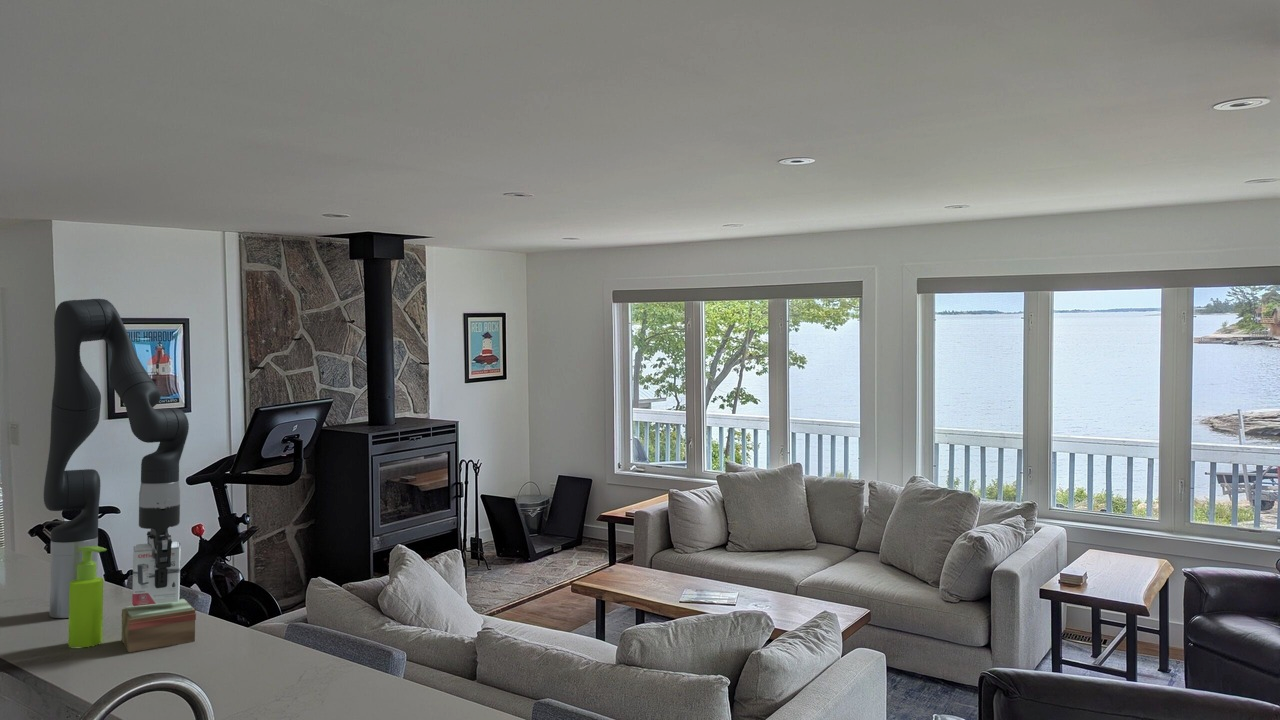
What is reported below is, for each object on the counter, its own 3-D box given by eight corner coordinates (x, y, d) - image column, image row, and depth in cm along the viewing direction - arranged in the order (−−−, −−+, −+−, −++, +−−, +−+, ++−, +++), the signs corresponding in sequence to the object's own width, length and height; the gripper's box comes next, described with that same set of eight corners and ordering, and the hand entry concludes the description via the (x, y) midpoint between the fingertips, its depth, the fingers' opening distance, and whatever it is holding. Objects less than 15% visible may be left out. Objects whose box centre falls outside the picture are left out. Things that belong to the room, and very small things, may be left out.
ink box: (131, 607, 176) (132, 549, 176) (132, 601, 180) (133, 544, 180) (179, 602, 180) (180, 545, 180) (179, 596, 184) (180, 540, 184)
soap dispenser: (90, 649, 174) (91, 550, 174) (61, 647, 175) (63, 548, 175) (113, 641, 179) (115, 544, 180) (85, 638, 181) (86, 543, 181)
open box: (121, 640, 180) (122, 606, 180) (185, 629, 187) (185, 597, 188) (129, 653, 172) (129, 617, 172) (195, 641, 179) (195, 608, 179)
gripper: (133, 501, 184) (132, 580, 183) (144, 509, 172) (143, 594, 172) (173, 498, 188) (172, 575, 188) (186, 506, 177) (185, 588, 177)
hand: (158, 584), depth 180 cm, fingers closed on ink box, 5 cm apart
